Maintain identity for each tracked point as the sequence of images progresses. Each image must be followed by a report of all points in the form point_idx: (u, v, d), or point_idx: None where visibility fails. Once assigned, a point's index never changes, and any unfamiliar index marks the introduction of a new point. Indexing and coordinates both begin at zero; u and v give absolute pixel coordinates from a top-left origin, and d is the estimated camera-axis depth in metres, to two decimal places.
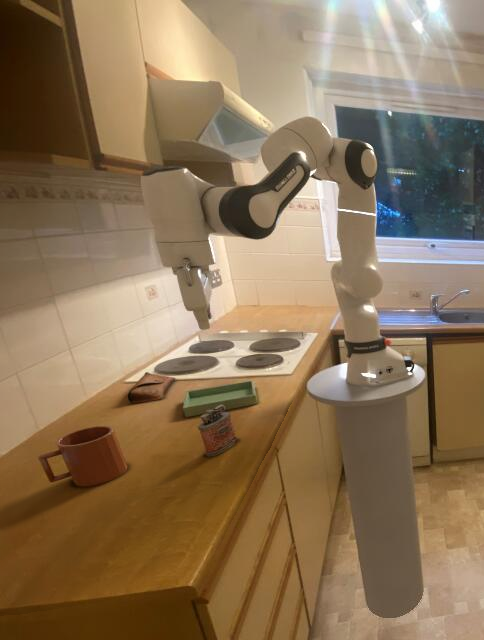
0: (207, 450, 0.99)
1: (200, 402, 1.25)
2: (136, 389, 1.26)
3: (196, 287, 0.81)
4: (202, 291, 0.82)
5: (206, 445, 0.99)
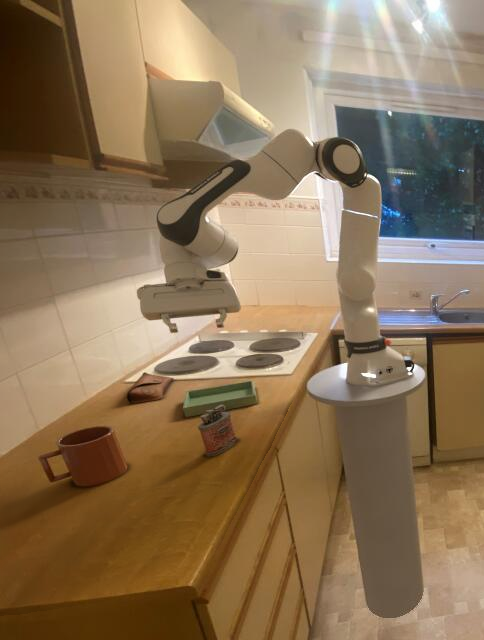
0: (207, 450, 0.99)
1: (200, 402, 1.25)
2: (135, 389, 1.26)
3: None
4: (140, 301, 1.02)
5: (206, 445, 0.99)
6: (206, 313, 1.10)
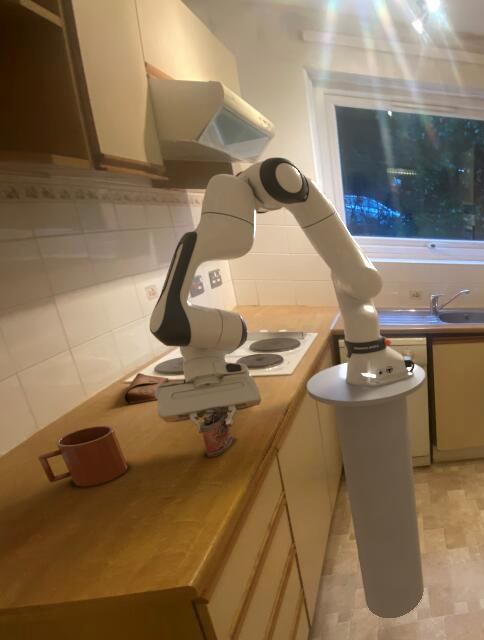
0: (209, 450, 0.99)
1: None
2: (133, 390, 1.26)
3: None
4: (158, 403, 0.97)
5: (208, 445, 0.99)
6: (225, 409, 1.04)
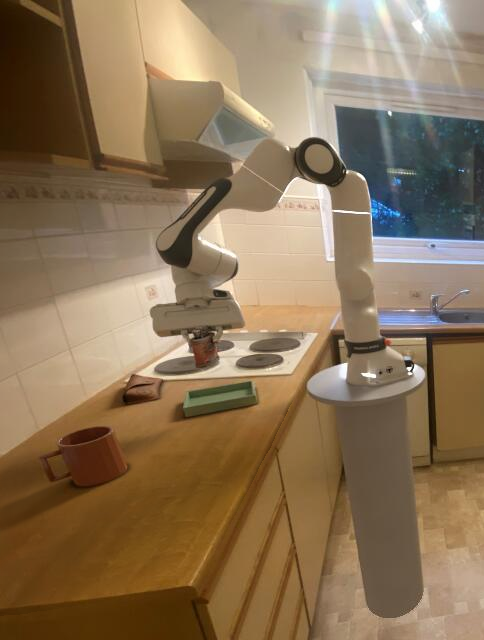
0: (198, 362, 1.13)
1: (200, 402, 1.25)
2: (130, 390, 1.25)
3: None
4: (153, 319, 1.10)
5: (197, 358, 1.12)
6: (213, 329, 1.18)
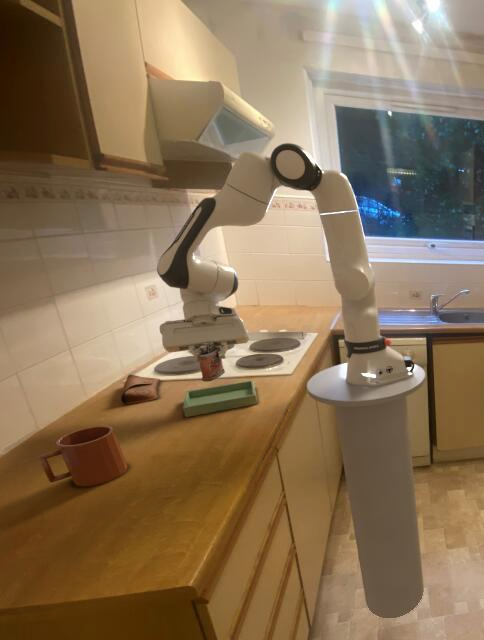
0: (204, 376, 1.20)
1: (200, 402, 1.25)
2: (129, 390, 1.25)
3: None
4: (162, 336, 1.18)
5: (204, 372, 1.19)
6: (218, 344, 1.25)
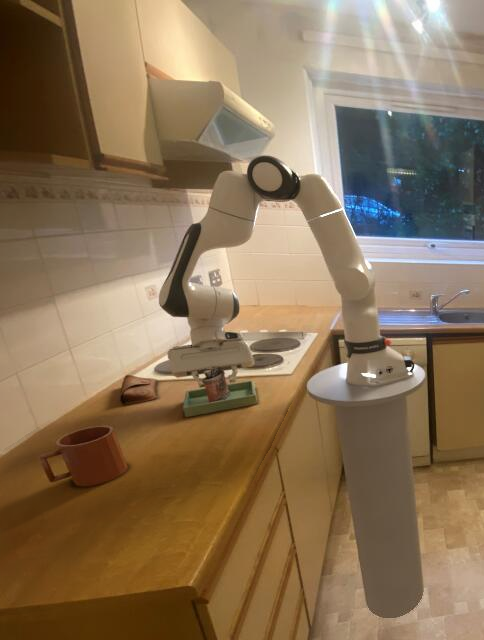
0: (210, 400, 1.22)
1: (200, 402, 1.25)
2: (128, 390, 1.25)
3: None
4: (170, 362, 1.21)
5: (210, 396, 1.22)
6: (225, 369, 1.28)
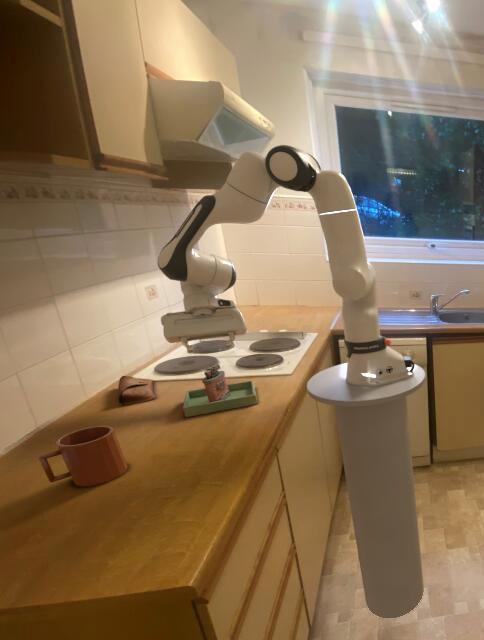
0: (210, 400, 1.22)
1: (200, 402, 1.25)
2: (126, 391, 1.25)
3: None
4: (163, 327, 1.22)
5: (210, 396, 1.22)
6: (218, 336, 1.29)
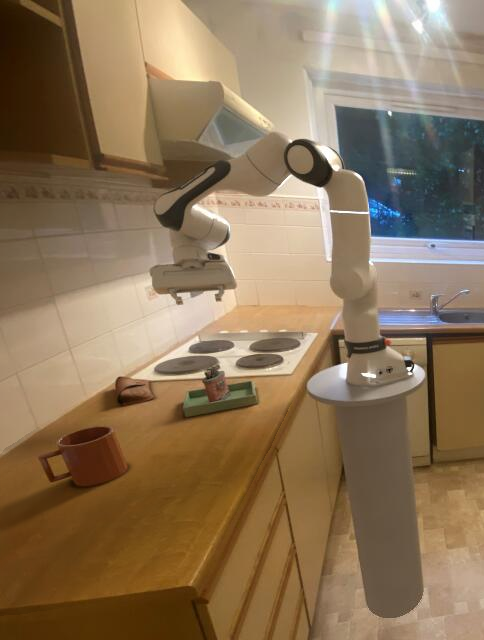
0: (210, 400, 1.22)
1: (200, 402, 1.25)
2: (124, 391, 1.25)
3: None
4: (152, 277, 1.22)
5: (210, 396, 1.22)
6: (207, 289, 1.29)
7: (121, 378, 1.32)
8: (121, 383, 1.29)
